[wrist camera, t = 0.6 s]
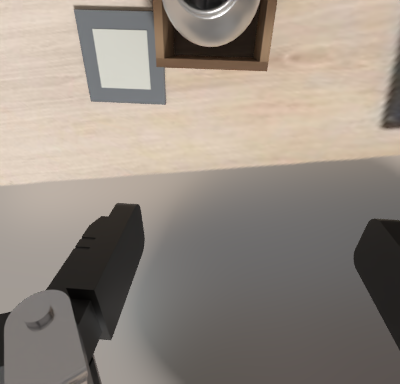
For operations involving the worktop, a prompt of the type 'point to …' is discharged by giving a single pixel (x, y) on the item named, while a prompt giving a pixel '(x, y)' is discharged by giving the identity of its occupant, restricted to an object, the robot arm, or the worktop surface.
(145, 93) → the mat
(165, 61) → the crate
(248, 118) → the worktop surface
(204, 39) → the plastic bottle
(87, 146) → the worktop surface
